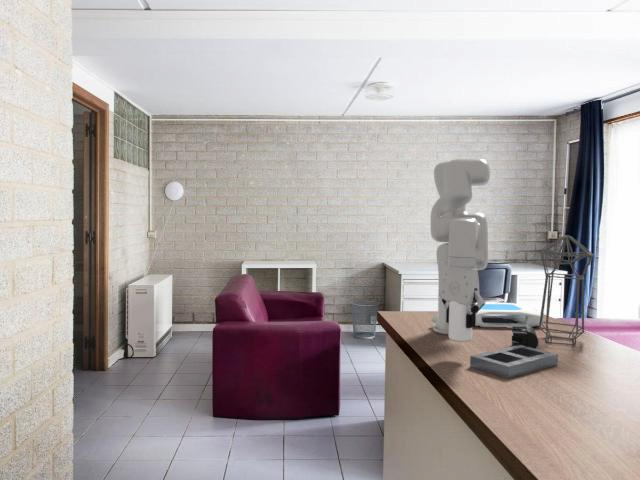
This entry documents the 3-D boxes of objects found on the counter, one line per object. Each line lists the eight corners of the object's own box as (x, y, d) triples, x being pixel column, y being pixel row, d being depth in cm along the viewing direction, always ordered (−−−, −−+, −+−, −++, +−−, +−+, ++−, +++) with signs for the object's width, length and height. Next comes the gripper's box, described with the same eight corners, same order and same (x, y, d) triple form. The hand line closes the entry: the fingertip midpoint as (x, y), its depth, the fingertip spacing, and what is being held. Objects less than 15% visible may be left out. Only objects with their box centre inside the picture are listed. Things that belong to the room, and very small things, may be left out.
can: (445, 336, 149) (446, 295, 148) (466, 335, 149) (467, 295, 148) (453, 342, 142) (453, 300, 141) (475, 341, 143) (476, 299, 142)
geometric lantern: (536, 334, 178) (541, 234, 177) (586, 340, 172) (592, 236, 170) (534, 343, 164) (540, 234, 162) (589, 350, 157) (596, 237, 156)
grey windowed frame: (470, 366, 138) (470, 355, 138) (519, 354, 151) (519, 344, 151) (508, 378, 129) (508, 366, 128) (557, 364, 141) (558, 353, 141)
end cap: (538, 354, 151) (538, 332, 151) (512, 352, 154) (513, 330, 153) (535, 346, 161) (536, 325, 161) (511, 344, 163) (512, 323, 163)
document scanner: (543, 329, 188) (544, 312, 187) (466, 327, 189) (467, 311, 188) (522, 317, 209) (523, 302, 208) (453, 316, 210) (454, 301, 209)
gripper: (429, 260, 149) (428, 320, 151) (478, 267, 135) (476, 333, 136) (447, 258, 153) (446, 317, 155) (496, 264, 139) (494, 329, 141)
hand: (460, 324), depth 146 cm, fingers closed on can, 6 cm apart
